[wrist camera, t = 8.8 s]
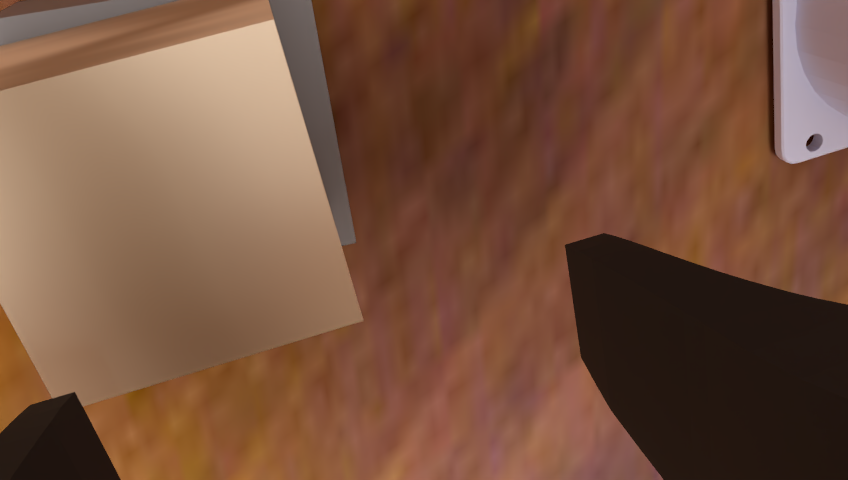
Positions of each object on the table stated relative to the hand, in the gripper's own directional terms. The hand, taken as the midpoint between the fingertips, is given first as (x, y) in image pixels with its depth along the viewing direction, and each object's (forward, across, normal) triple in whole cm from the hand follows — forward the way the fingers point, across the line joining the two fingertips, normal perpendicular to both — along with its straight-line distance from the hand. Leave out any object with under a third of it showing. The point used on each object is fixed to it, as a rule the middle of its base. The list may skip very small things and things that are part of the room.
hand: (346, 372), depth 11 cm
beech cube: (+7, +2, -2) cm, 7 cm away
